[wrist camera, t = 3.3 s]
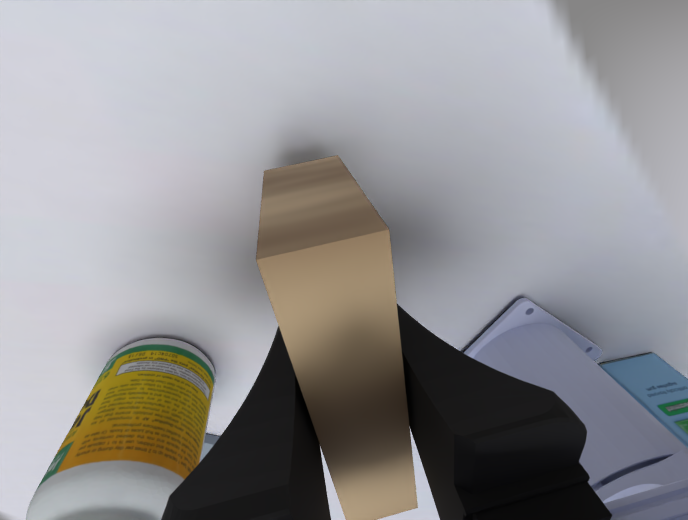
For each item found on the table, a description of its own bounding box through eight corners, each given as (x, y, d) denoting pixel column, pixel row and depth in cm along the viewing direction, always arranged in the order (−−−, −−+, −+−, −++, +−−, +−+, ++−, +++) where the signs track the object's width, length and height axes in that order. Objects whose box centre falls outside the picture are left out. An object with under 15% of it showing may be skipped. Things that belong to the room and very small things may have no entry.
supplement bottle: (210, 406, 20) (170, 637, 12) (107, 403, 19) (-18, 665, 11) (222, 338, 18) (181, 568, 10) (105, 327, 16) (-58, 589, 8)
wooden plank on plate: (374, 374, 17) (417, 507, 12) (326, 387, 17) (348, 527, 12) (337, 155, 12) (389, 229, 6) (264, 170, 11) (256, 259, 6)
